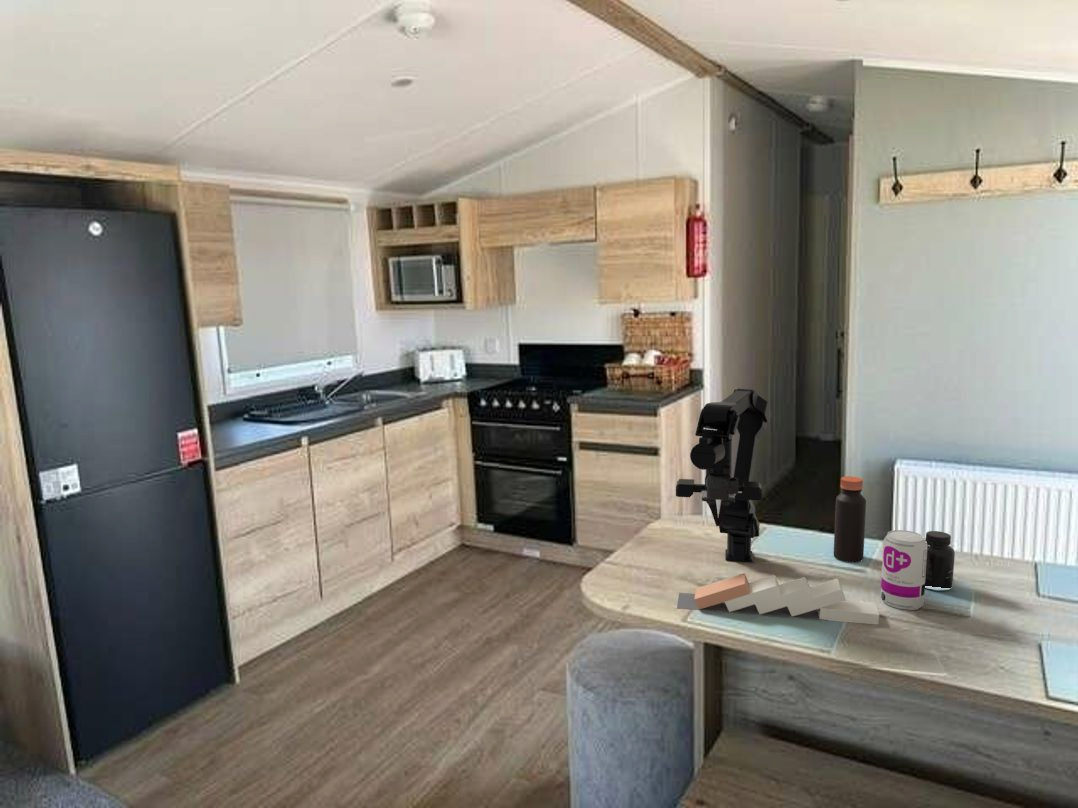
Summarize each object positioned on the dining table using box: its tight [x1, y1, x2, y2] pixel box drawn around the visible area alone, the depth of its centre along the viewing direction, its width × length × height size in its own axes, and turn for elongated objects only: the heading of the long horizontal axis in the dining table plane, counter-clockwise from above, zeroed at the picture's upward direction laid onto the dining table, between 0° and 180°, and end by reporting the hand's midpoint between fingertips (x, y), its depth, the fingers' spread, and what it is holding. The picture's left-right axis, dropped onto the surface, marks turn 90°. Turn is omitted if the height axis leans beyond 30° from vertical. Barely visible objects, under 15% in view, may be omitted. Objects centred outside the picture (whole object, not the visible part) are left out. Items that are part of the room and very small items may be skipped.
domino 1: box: [725, 574, 781, 612], centre depth 156 cm, size 2×6×11 cm
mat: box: [676, 592, 829, 622], centre depth 157 cm, size 8×30×1 cm, turn 76°
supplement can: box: [879, 529, 927, 611], centre depth 156 cm, size 8×8×15 cm
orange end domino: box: [694, 572, 750, 611], centre depth 157 cm, size 2×6×11 cm
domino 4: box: [817, 599, 880, 625], centre depth 152 cm, size 2×6×11 cm
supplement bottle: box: [924, 530, 956, 589], centre depth 165 cm, size 7×7×12 cm
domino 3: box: [787, 578, 847, 616], centre depth 153 cm, size 2×6×11 cm
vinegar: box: [833, 476, 867, 563], centre depth 181 cm, size 7×7×20 cm
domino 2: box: [755, 576, 812, 614], centre depth 154 cm, size 2×6×11 cm
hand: (717, 525), depth 170 cm, fingers closed
